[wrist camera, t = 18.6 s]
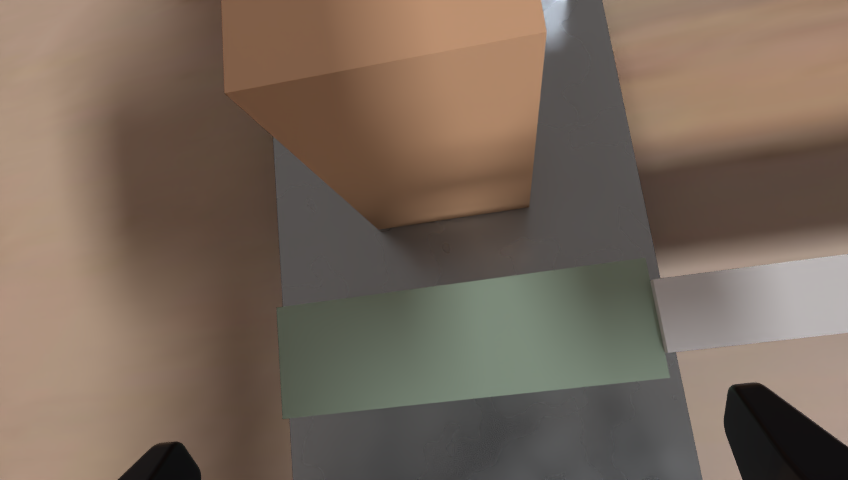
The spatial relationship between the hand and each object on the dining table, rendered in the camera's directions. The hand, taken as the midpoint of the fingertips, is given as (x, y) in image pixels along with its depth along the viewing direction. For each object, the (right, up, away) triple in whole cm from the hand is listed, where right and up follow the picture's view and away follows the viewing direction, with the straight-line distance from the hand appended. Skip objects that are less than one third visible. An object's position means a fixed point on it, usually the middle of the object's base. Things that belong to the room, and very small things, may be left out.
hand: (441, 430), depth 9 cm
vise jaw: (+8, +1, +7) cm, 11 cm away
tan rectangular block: (0, +6, +10) cm, 11 cm away
